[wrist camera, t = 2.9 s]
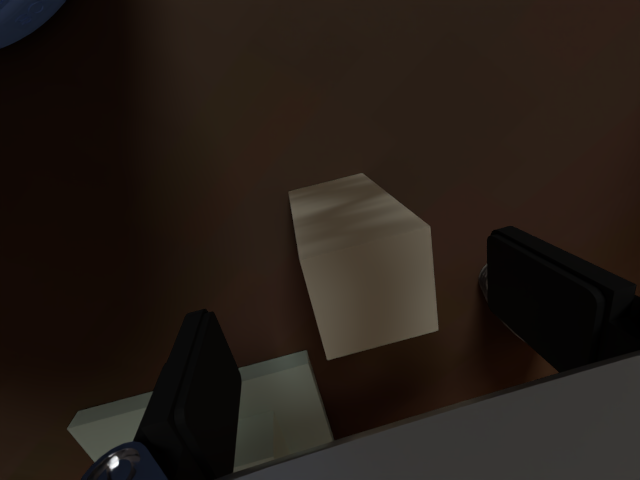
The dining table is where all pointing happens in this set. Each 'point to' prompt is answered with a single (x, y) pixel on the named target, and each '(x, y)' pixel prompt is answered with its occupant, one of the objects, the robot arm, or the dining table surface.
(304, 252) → the birch peg
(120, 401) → the slot holder
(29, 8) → the water jug
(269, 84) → the dining table surface
